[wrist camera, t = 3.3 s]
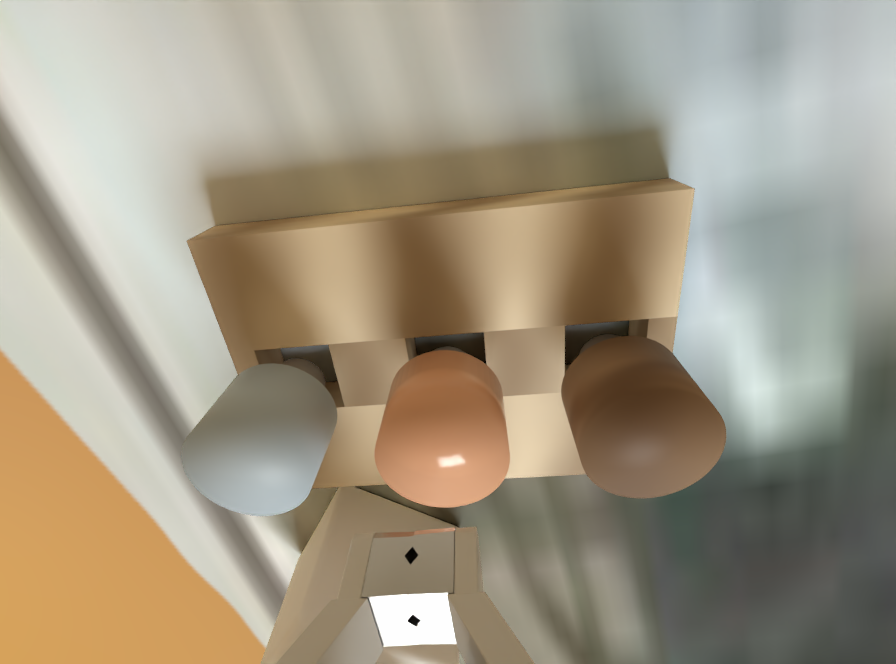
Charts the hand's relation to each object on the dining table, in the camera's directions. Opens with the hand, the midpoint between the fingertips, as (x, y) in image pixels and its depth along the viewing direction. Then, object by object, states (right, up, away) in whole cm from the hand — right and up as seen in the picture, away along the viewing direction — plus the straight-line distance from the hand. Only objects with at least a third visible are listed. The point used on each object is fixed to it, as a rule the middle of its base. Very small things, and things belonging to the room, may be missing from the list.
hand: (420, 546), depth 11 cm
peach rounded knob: (+1, +4, +7) cm, 8 cm away
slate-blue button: (-5, +3, +7) cm, 10 cm away
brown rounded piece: (+7, +4, +6) cm, 10 cm away
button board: (+1, +5, +9) cm, 10 cm away
